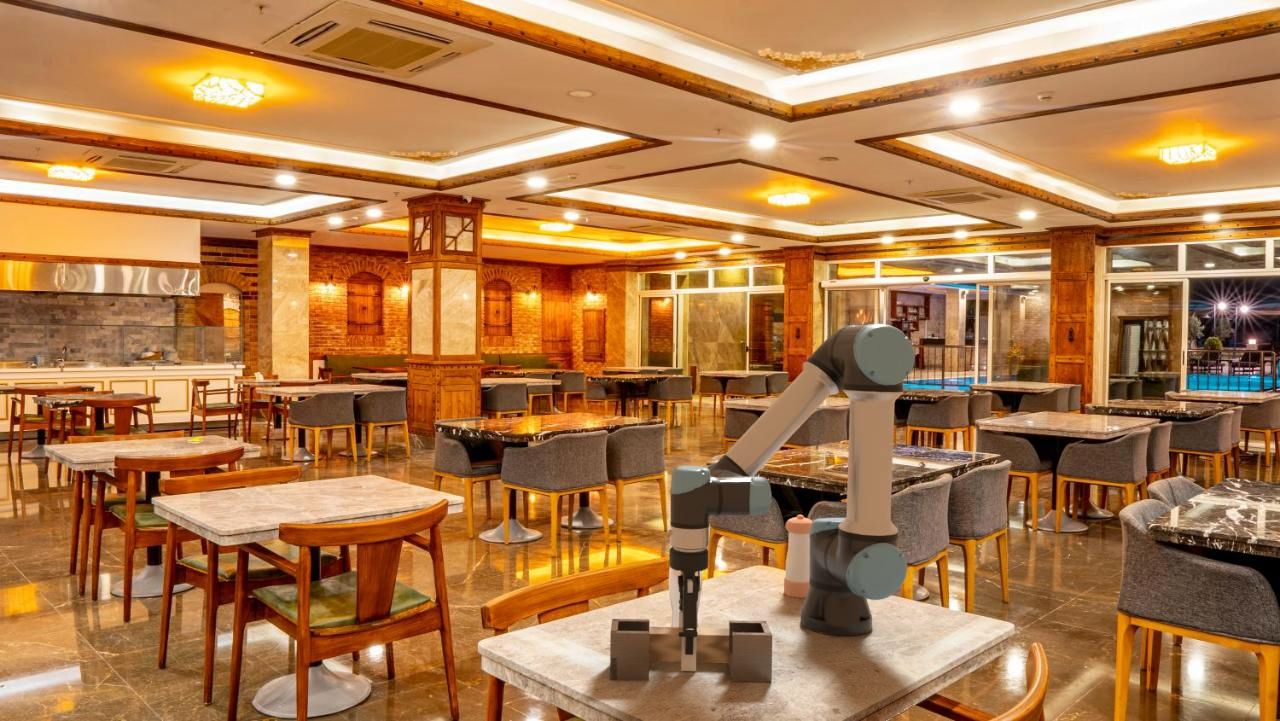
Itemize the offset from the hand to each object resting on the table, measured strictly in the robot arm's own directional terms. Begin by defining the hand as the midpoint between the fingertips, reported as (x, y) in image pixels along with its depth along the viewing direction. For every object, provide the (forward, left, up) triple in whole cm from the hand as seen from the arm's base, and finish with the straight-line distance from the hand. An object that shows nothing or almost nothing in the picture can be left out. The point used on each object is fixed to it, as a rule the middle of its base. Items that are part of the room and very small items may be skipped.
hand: (686, 657), depth 168 cm
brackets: (0, +7, 0) cm, 8 cm away
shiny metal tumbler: (0, -14, 0) cm, 14 cm away
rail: (0, 0, 0) cm, 0 cm away
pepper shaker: (-29, -44, 0) cm, 53 cm away
